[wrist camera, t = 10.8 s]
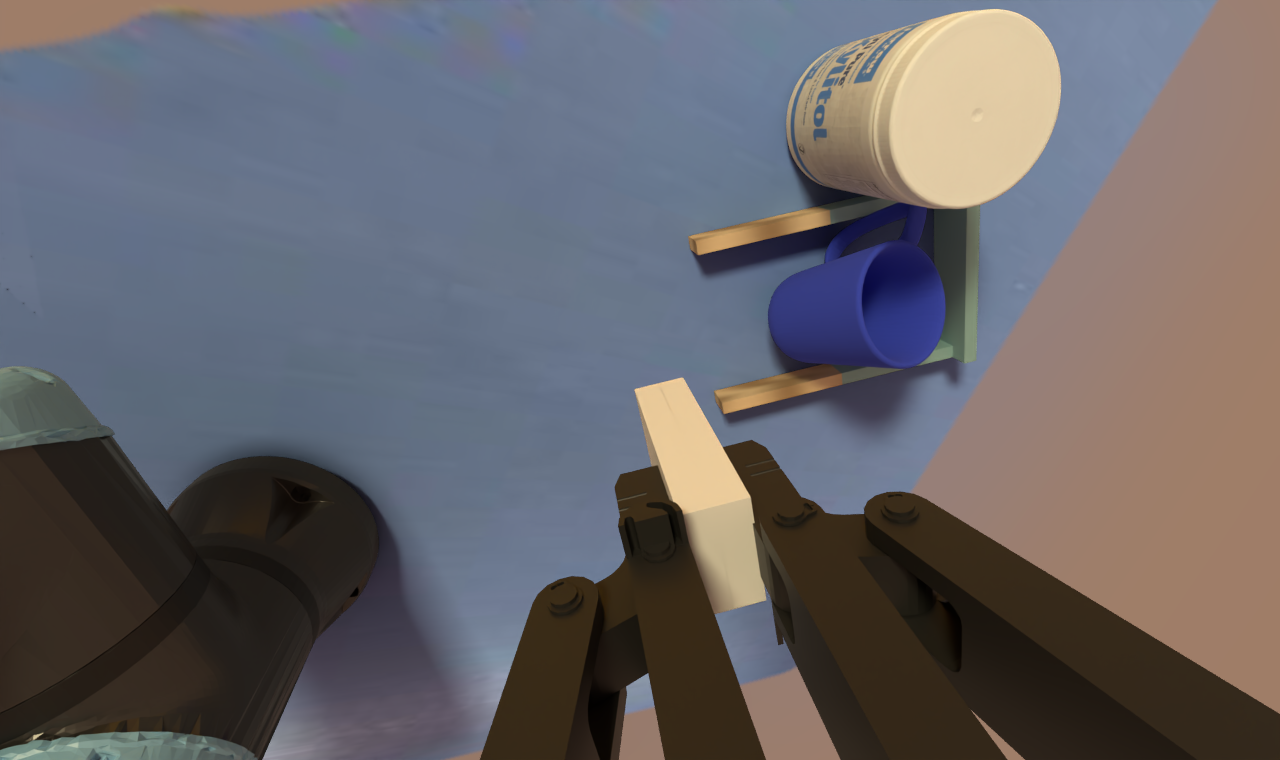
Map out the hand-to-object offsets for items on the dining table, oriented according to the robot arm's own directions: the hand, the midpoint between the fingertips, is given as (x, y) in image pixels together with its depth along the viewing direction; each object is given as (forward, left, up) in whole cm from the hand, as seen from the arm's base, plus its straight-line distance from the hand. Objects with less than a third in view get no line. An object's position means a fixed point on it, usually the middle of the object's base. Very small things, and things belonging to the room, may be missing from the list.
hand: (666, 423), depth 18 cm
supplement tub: (+20, +6, -29) cm, 35 cm away
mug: (+15, -7, -28) cm, 32 cm away
